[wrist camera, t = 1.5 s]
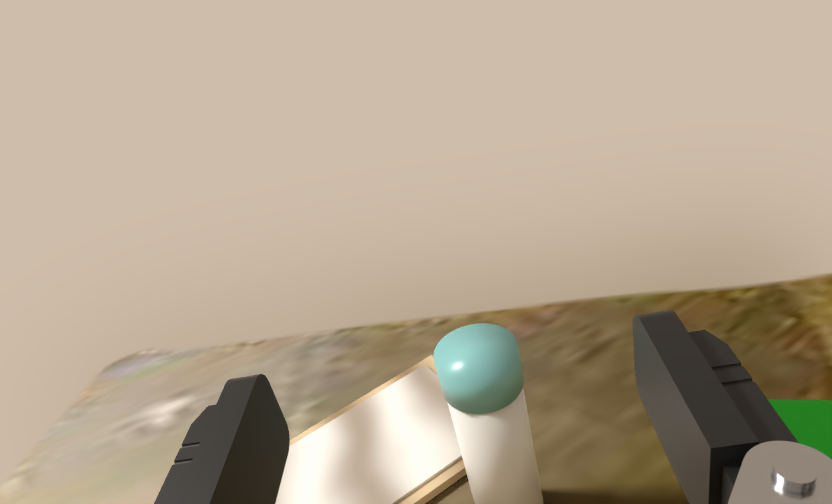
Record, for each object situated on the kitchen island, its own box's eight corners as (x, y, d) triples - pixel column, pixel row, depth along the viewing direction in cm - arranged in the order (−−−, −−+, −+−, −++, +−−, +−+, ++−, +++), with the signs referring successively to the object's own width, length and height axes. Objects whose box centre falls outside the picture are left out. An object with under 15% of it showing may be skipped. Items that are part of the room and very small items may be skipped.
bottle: (516, 476, 34) (482, 313, 29) (563, 520, 31) (536, 348, 26) (464, 514, 33) (417, 351, 27) (508, 565, 30) (466, 393, 24)
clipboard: (433, 361, 45) (429, 348, 44) (520, 436, 37) (517, 421, 36) (206, 498, 38) (198, 485, 37) (252, 626, 30) (243, 612, 30)
